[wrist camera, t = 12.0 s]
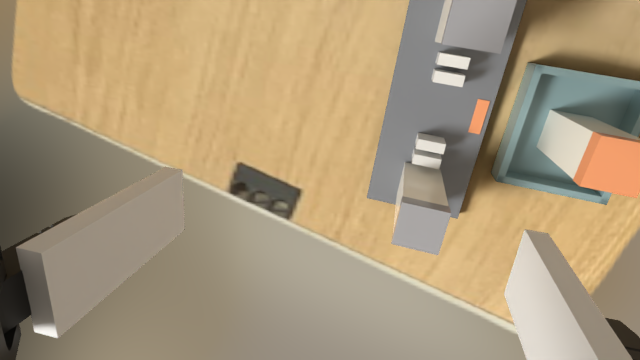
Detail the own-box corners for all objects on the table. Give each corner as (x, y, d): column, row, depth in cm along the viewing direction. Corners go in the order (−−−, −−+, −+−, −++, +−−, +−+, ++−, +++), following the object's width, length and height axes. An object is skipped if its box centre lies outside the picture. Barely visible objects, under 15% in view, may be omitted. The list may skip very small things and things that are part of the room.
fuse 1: (404, 161, 38) (401, 202, 28) (441, 169, 37) (451, 213, 28) (396, 194, 39) (391, 243, 30) (431, 202, 38) (438, 255, 29)
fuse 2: (444, -3, 32) (457, -19, 23) (488, 4, 32) (520, -10, 23) (433, 42, 34) (442, 44, 24) (475, 49, 33) (500, 53, 24)
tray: (527, 62, 34) (536, 64, 31) (644, 81, 32) (662, 85, 30) (490, 172, 37) (495, 181, 35) (594, 194, 36) (606, 204, 34)
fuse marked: (549, 108, 34) (601, 135, 25) (592, 116, 34) (661, 147, 24) (535, 147, 35) (579, 186, 26) (576, 155, 35) (636, 198, 26)
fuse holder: (415, -27, 33) (416, -34, 30) (526, -11, 32) (540, -17, 29) (366, 198, 41) (363, 212, 38) (454, 218, 40) (458, 235, 36)
